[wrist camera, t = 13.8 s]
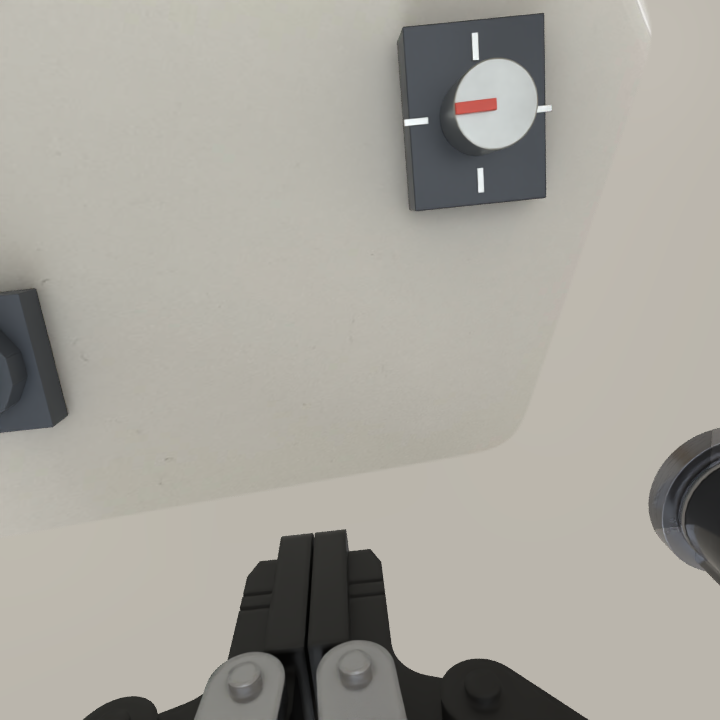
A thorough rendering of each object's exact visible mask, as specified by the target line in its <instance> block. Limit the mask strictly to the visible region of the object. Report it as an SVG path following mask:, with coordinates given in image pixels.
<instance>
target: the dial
mask: <svg viewBox="0 0 720 720" xmlns="http://www.w3.org/2000/svg"><path fill="white" fill-rule="evenodd" d="M537 109H538V93H537V88H536V85H535V82H534V80H533V78H532V77H531V75H530V74H529V72H528V71H527V70H526V69H525V68H524V67H523V66H522V65H520V64H519V63H517V62H515V61H513V60H511V59H507V58H500V57H498V58H490V59H486V60H483V61H481V62H479V63H477V64H476V65H474V66H473V67H471V68H470V69H469V70H468V71H467V72H466V73H465V74H464V75H463V76H462V77H461V78H460V79H459V80H458V81H457V82H456V83H455V84H454V85H453V86H452V87H451V88H450V89H449V91H448V92H447V94H446V96H445V98H444V100H443V103H442V107H441V114H440V120H441V126H442V130H443V133H444V135H445V137H446V139H447V140H448V142H449V143H450V144H451V145H452V146H453V147H454V148H455V149H457V150H458V151H460V152H462V153H464V154H468V155H473V156H479V155H485V154H489V153H492V152H495V151H498V150H501V149H504V148H507V147H510V146H512V145H514V144H515V143H517V142H518V141H520V140H521V139H522V138H523V137H524V136H525V135H526V134H527V132H528V131H529V130H530V128H531V126H532V125H533V123H534V120H535V118H536V114H537Z"/></svg>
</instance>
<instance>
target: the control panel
mask: <svg viewBox="0 0 720 720" xmlns="http://www.w3.org/2000/svg"><path fill="white" fill-rule="evenodd" d="M397 48H398V61H399V75H400V88H401V102H402V116H403V129H404V143H405V157H406V170H407V184H408V198H409V209H410V210H411V211H423V210H433V209H442V208H452V207H462V206H472V205H481V204H491V203H501V202H510V201H520V200H530V199H539V198H545V197H546V140H545V112H551V111H552V105H545V44H544V13H539V14H529V15H519V16H508V17H498V18H488V19H478V20H468V21H458V22H448V23H438V24H428V25H418V26H408V27H403V28H402V31H401V33H400V36H399V39H398V41H397ZM498 57H500V58H507V59H511V60H513V61H515V62H517V63H519V64H520V65H522V66H523V67H524V68H525V69H526V70H527V71H528V72H529V74H530V75H531V77H532V78H533V80H534V82H535V85H536V88H537V93H538V109H537V114H536V118H535V120H534V123H533V125H532V126H531V128H530V130H529V131H528V132H527V134H526V135H525V136H524V137H523V138H522V139H521V140H520V141H518V142H517V143H515V144H514V145H512V146H510V147H507V148H504V149H501V150H498V151H495V152H492V153H489V154H485V155H479V156H473V155H468V154H464V153H462V152H460V151H458V150H457V149H455V148H454V147H453V146H452V145H451V144H450V143H449V142H448V140H447V139H446V137H445V135H444V133H443V130H442V126H441V120H440V114H441V107H442V103H443V100H444V98H445V96H446V94H447V92H448V91H449V89H450V88H451V87H452V86H453V85H454V84H455V83H456V82H457V81H458V80H459V79H460V78H461V77H462V76H463V75H464V74H465V73H466V72H467V71H468V70H469V69H470V68H471V67H473V66H474V65H476V64H477V63H479V62H481V61H483V60H486V59H490V58H498Z"/></svg>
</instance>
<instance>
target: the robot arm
mask: <svg viewBox="0 0 720 720" xmlns="http://www.w3.org/2000/svg"><path fill="white" fill-rule="evenodd" d="M678 521H679V527H680V531H681V534H682V536H683V538H684V539H685V541H686V542H687V543H688V545H689V546H690V547H691V548H692V549H693V550H694V551H695V561H696V562H697V563H698V564H699V565H700V566H701V567H702V568H703V569H704V570H705V571H706V572H707V573H708V574H709V575H710V576H711V577H712V578H713V579H714V580H715V581H716V582H717V583H718V584H719V585H720V459H719V460H717V461H715V462H714V463H712V464H710V465H709V466H707V467H706V468H705V469H703V470H702V471H701V472H700V473H699V474H698V475H697V476H696V477H695V478H694V479H693V480H692V482H691V483H690V484H689V486H688V487H687V489H686V491H685V493H684V495H683V497H682V499H681V503H680V506H679V513H678ZM243 594H244V595H243V598H242V602H241V606H240V611H239V614H238V618H237V623H236V627H235V631H234V635H233V640H232V644H231V648H230V652H229V657H228V661H226V662H225V663H223V664H222V665H220V666H219V667H218V668H217V669H216V670H215V671H214V672H213V674H212V675H211V677H210V678H209V680H208V683H207V685H206V687H205V690H204V693H203V694H202V695H201V696H199V697H198V698H196V699H194V700H192V701H190V702H188V703H186V704H183V705H180V706H178V707H175V708H173V709H170V710H168V711H165V712H162V713H160V714H158V713H157V709H156V707H155V706H154V704H153V703H152V702H151V701H149V700H147V699H146V698H142V697H136V696H131V697H124V698H119V699H116V700H113V701H111V702H109V703H106V704H104V705H103V706H101V707H99V708H98V709H96V710H95V711H93V712H92V713H91V714H89V715H88V716H87V717H86V718H84V719H83V720H588V719H586V718H585V717H583V716H582V715H580V714H579V713H577V712H576V711H574V710H573V709H571V708H569V707H568V706H567V705H565V704H563V703H562V702H560V701H559V700H557V699H556V698H554V697H553V696H551V695H550V694H548V693H547V692H545V691H544V690H542V689H541V688H539V687H537V686H536V685H534V684H533V683H531V682H530V681H528V680H526V679H525V678H524V677H522V676H521V675H519V674H518V673H516V672H515V671H513V670H511V669H510V668H508V667H507V666H505V665H503V664H501V663H498V662H496V661H492V660H488V659H470V660H466V661H462V662H460V663H458V664H456V665H454V666H453V667H452V668H450V669H449V670H448V671H447V672H446V674H445V675H444V677H443V678H439V677H433V676H428V675H423V674H420V673H417V672H415V671H413V670H411V669H409V668H407V667H406V666H405V665H403V664H402V663H401V662H400V661H399V660H398V659H397V657H396V656H395V654H394V651H393V649H392V645H391V638H390V630H389V621H388V613H387V605H386V597H385V589H384V581H383V573H382V565H381V561H380V560H379V559H378V558H377V557H376V555H375V554H374V553H373V552H372V551H371V549H367V550H358V551H349V549H348V540H347V533H346V529H345V530H336V531H327V532H317V533H315V538H314V535H313V533H310V534H301V535H291V536H283V537H281V541H280V547H279V553H278V559H277V560H268V561H260V562H259V563H258V564H257V566H256V567H255V568H254V569H253V571H252V572H251V573H250V574H249V575H248V577H247V581H246V585H245V589H244V593H243Z"/></svg>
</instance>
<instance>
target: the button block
mask: <svg viewBox="0 0 720 720" xmlns="http://www.w3.org/2000/svg"><path fill="white" fill-rule="evenodd" d="M67 415H68V414H67V410H66V406H65V402H64V398H63V394H62V390H61V386H60V382H59V379H58V375H57V371H56V367H55V363H54V359H53V355H52V351H51V347H50V343H49V339H48V335H47V331H46V327H45V323H44V319H43V315H42V312H41V308H40V304H39V300H38V296H37V292H36V289H26V290H16V291H7V292H0V433H2V432H11V431H20V430H30V429H39V428H48V427H54V426H55V425H56V424H57V423H59V422H60V421H61V420H62V419H64V418H65V417H66V416H67Z"/></svg>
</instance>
